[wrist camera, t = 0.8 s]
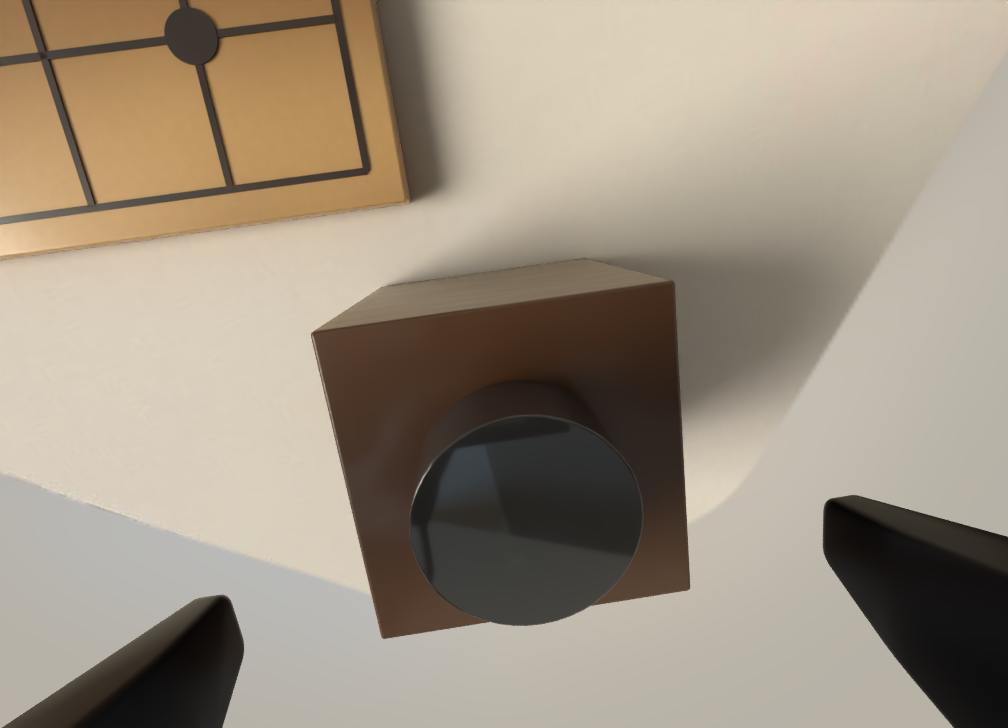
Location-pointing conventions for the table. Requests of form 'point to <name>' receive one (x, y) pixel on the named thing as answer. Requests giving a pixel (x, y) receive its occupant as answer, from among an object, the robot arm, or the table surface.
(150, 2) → the board
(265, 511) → the table surface
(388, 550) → the stone stand
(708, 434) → the table surface
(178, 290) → the table surface
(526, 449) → the game stone
